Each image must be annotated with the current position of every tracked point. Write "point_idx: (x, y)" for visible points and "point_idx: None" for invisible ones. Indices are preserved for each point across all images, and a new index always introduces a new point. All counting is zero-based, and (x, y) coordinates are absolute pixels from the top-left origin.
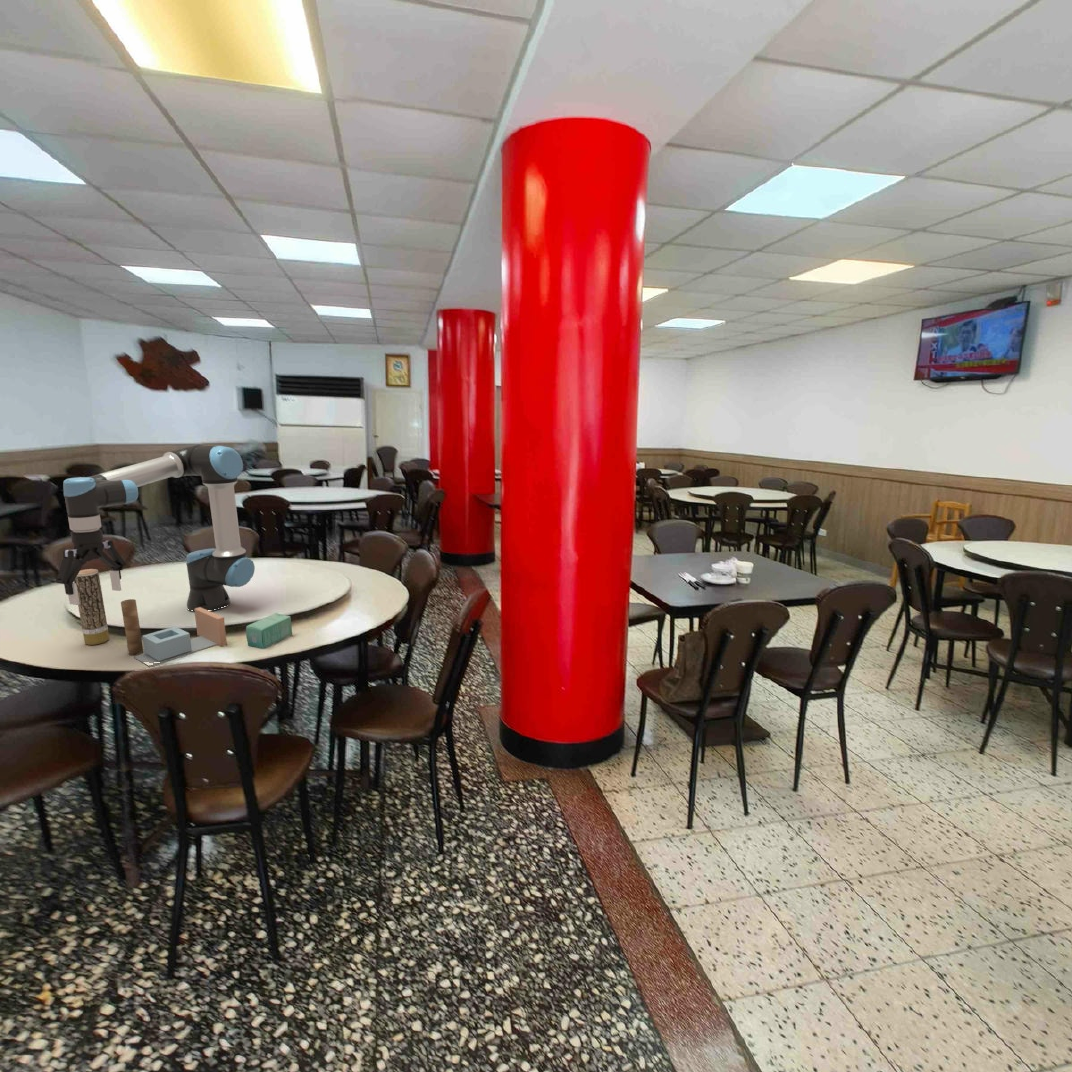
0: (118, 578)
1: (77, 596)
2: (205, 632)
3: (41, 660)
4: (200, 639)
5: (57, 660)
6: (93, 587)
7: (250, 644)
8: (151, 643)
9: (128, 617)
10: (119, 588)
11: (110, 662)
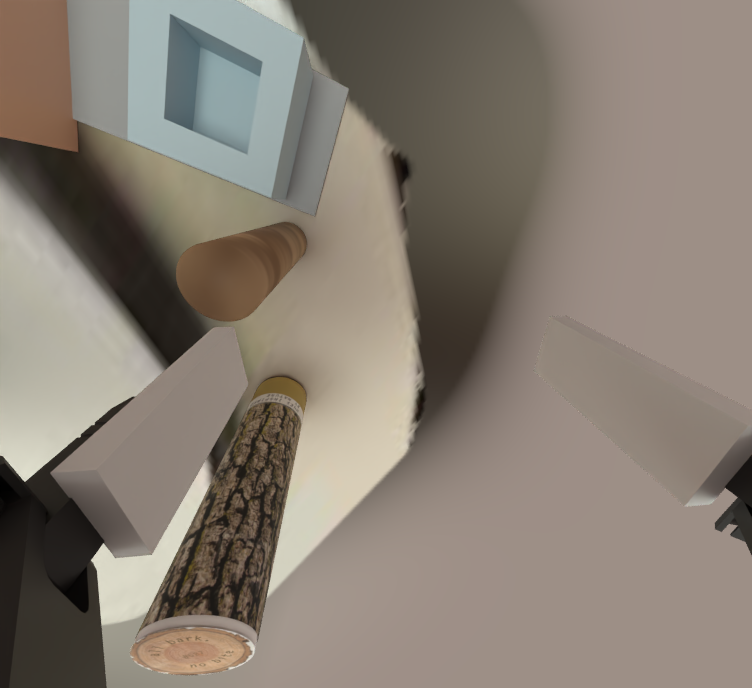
0: (159, 389)
1: (602, 343)
2: (42, 51)
3: (394, 406)
4: (93, 87)
5: (386, 380)
6: (227, 532)
7: None
8: (292, 107)
9: (273, 248)
10: (219, 335)
11: (359, 257)
